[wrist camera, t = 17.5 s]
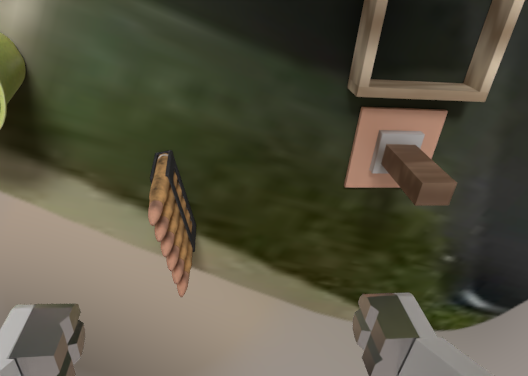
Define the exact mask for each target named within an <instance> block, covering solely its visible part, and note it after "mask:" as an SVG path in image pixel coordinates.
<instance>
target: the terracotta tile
mask: <svg viewBox="0 0 528 376" xmlns="http://www.w3.org/2000/svg"><path fill="white" fill-rule="evenodd" d="M447 113H448V111H447V110H442V109H414V108H386V107H361V110H360V115H359V119H358V124H357V128H356V133H355V137H354V142H353V146H352V151H351V156H350V160H349V165H348V169H347V174H346V178H345V183H344V186H345V187H349V188H400V186H399V185H398V184H397V183H396V182H395V180H394V179H393V178H392V177H391V175H390V174H388V173H372V172H371V171H370V170H369V169H370V165H371V161H372V157H373V153H374V149H375V145H376V141H377V137H378V133H379V130H398V131H421V132H422V133H424V134H425V136H424V139H423V142H422V145H421V148H420V149H421V150H422V151H423V152H424V153H425V154H426V155H427V156H428V157H429V158H430V159H432V156H433V153H434V150H435V148H436V145H437V142H438V139H439V136H440V133H441V130H442V127H443V124H444V121H445V119H446V116H447Z"/></svg>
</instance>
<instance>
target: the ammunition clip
mask: <svg viewBox="0 0 528 376" xmlns="http://www.w3.org/2000/svg"><path fill="white" fill-rule="evenodd" d="M150 181H151V183H152V185H151V190H150V194H149V199H150V203H149V211H148V217H149V222H150V224H151V225H152V226H154V225H155V236H156V239H157V241H158V242H160V241H161V250H162V254H163V256H164V257H166V258H167V265H168V268H169V270H170V271H172V277H173V281H174V283H175V284H177V289H178V293H179V295H180V296H181V297H183V295H184V294H185V292H186V289H187V286H188V281H189V273H190V269H191V265H192V252H195V237H196V223H195V220H194V217H193V214H192V211H191V208H190V204H189V201H188V198H187V195H186V192H185V189H184V186H183V183H182V180H181V177H180V174H179V171H178V168H177V165H176V162H175V159H174V155H173V152H172V151H171V150H169V151H164V152H159V153H155V157H154V161H153V166H152V171H151V175H150Z"/></svg>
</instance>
